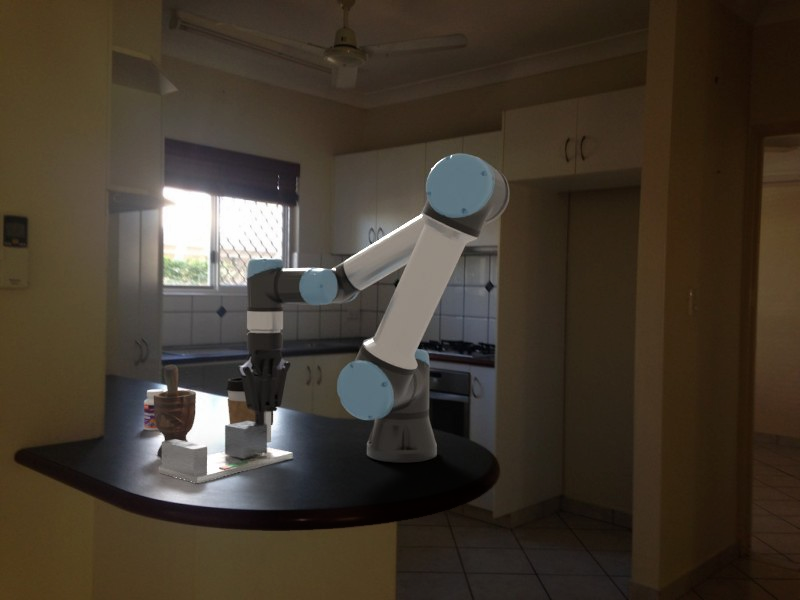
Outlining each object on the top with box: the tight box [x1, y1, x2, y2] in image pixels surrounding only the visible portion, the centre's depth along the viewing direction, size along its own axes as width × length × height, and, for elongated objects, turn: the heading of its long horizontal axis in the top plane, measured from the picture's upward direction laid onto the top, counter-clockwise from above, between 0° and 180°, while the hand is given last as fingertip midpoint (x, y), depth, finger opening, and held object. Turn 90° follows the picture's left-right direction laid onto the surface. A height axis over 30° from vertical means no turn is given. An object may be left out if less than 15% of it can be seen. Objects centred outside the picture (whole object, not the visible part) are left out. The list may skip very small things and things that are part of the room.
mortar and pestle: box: [154, 364, 197, 457], centre depth 147 cm, size 12×9×20 cm
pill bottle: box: [143, 388, 165, 432], centre depth 174 cm, size 5×5×10 cm
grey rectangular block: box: [224, 421, 268, 459], centre depth 142 cm, size 8×6×6 cm
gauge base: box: [158, 439, 294, 484], centre depth 139 cm, size 12×24×6 cm, turn 143°
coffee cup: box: [225, 377, 255, 424], centre depth 160 cm, size 8×8×15 cm
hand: (264, 441), depth 147 cm, fingers closed
